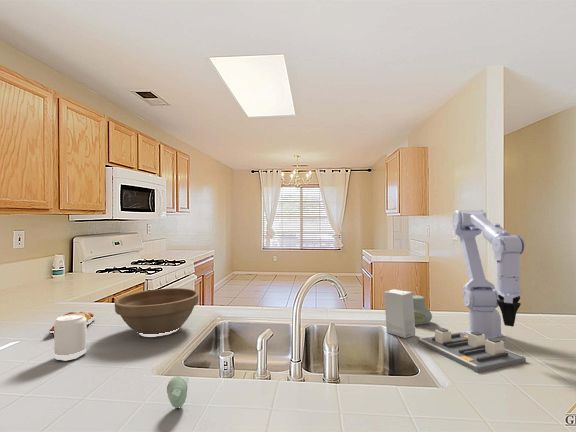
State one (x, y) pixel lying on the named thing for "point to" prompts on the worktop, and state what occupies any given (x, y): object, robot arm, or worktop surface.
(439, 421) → the worktop surface
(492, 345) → the switch
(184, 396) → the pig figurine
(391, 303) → the skincare box
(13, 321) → the worktop surface
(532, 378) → the worktop surface
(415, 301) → the air freshener
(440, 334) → the switch
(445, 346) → the console
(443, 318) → the worktop surface
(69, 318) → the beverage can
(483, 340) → the switch middle
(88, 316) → the croissant
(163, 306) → the brown round bowl
